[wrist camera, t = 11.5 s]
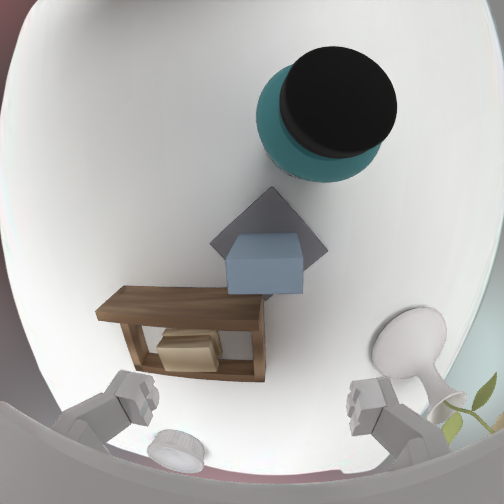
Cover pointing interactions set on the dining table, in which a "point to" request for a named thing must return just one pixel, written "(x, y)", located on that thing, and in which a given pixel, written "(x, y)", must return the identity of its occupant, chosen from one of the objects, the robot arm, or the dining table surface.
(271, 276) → the light blue block
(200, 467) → the ramekin
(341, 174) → the beverage bottle
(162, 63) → the dining table surface
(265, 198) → the mat
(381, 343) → the flower in vase
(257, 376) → the brown wooden drawer
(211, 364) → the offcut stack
